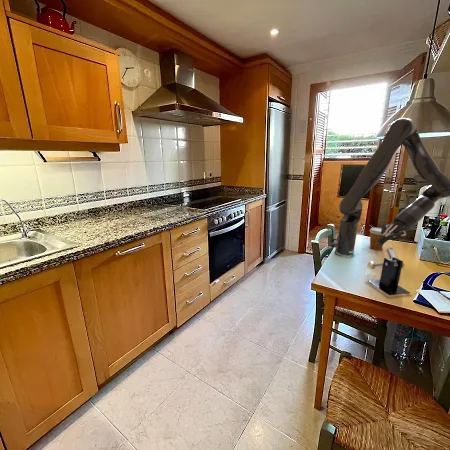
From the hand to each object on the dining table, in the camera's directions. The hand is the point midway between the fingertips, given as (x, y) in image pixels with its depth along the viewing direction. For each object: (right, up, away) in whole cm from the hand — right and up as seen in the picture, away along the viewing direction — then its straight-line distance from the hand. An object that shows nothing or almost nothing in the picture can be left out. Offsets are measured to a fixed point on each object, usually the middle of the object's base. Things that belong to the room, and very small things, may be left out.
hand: (378, 243), depth 111 cm
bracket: (0, -19, -6) cm, 20 cm away
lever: (-1, -11, -4) cm, 12 cm away
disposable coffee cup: (+23, -6, +40) cm, 47 cm away
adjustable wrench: (+25, -10, +26) cm, 37 cm away
